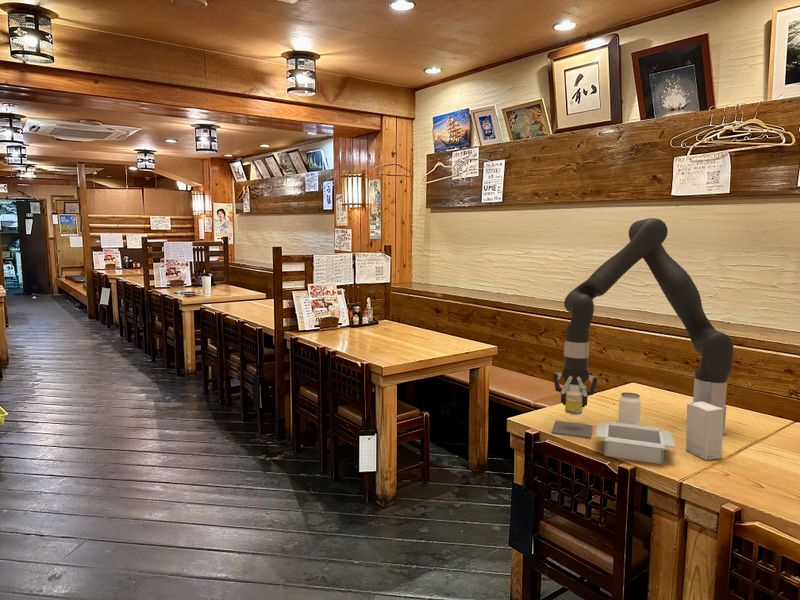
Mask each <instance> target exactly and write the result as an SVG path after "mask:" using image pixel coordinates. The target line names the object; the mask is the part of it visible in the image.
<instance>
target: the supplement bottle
mask: <svg viewBox="0 0 800 600" xmlns="http://www.w3.org/2000/svg"><path fill="white" fill-rule="evenodd" d="M582 404H583V392H582V390H581V388H580V385H573V384H569V386H568V388H567V390H566V400H565V405H564V406H565V407H564V411H565V413H566V414H567V415H569V416H580V415H582V414H583V409H584V407H582Z"/></svg>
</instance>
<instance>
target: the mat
mask: <svg viewBox="0 0 800 600" xmlns="http://www.w3.org/2000/svg"><path fill="white" fill-rule="evenodd" d="M593 427H594V425H593V424H587V423H580V422H572V421H565V420H555V421H554V424H553V426H552V429H551V433H550V434H552V435H560V436H567V437H575V438H582V439H587V440H588V439H589V440H591V439H592V433H593Z"/></svg>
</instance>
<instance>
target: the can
mask: <svg viewBox="0 0 800 600" xmlns="http://www.w3.org/2000/svg"><path fill="white" fill-rule="evenodd" d="M640 396H641V395H640V394H638V393H635V392H622V393H621V394H620V397H619V402H618V403H619V404H618V416H617V417H618V418H617V419H618V420H617V422H618V423H626V424H634V425H641V423H640V422H641V421H640V420H641V407H642V406H641V405H642V400H641V397H640Z"/></svg>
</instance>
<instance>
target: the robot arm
mask: <svg viewBox="0 0 800 600" xmlns="http://www.w3.org/2000/svg"><path fill="white" fill-rule="evenodd" d="M667 237H668V227H667V224H666V223H665V222H664V221H663V220H662V219H659V218H655V217H653V218H652V217H651V218H649V217H648V218H645V219H641V220H636V221H635V222H633V223H632V224H631V225H630V227H629V229H628V239H629V242H628V243H627V244H626V245H625V246H624V247H623V248H621V250H620V251H618V252H617V253H616V254H615V255H613V256H611V257H610V258H608V259H607V260H606V261H605V262H603V263H602V264H601V265H600V266H599V267H598V268H596V270H594V272H593V273H592V274H591V275H590V276H589V277H588V278H587V279H586V280H585V281H583V282H582V283H580V284H579V285H577V286H576V287H575V288H573V290H571V291H570V292H569V293H568V294H567V295H566V297H565V299H564V302H563V305H564V308H565V310H566V311H567V312H568V313H570V314H571V320H570V322H568V323H567V325H566V327H565V343H564V348H563V349H564V350H563V370H561V372H557V371H555V372H554V373H553V375H552V377H553V383H554V388H555V391H556V392H558V393H560V403H561V404H562V406H565V400H566V390H568V389H569V388H568V386H569V384H573V385H580V388H581V389H580V390H581V391H582V392H583V404H582V407H583V408H585V407H587V406H588V398H589V396H593V395H594V393H595V390H596V385H597V383H598V382H597V381H598V376H597V375H594V376H593V375H591V374H589V356H590V353H589V352H590V345H589V341H590V340H589V337H590V336H589V335H590V327H591V324H592V320H593V316H594V312H595V304H594V299H595V298H598V297H601V296H604V295H605V294H607V292H608V291H610V289H611V288H612V287H613V286H614V285H615V284H617V282H618V281H619V280H620V279H621V278H622V277H623V276H624V275H625V274H626V273H627V272H628V271H629V270H630V269H631V268H632V267H633V266H635V265H636V263H638V262H639V261H641V260H642V259H643V261H644V262H645V264H646V265H647V267H648V269H649V270H650V272H651V274H652V276H653V277H654V278H655V280H656V282H657V284H658V285H659V287H660V289H661V291H662V293H663V294H664V296H665V298H666V299H667V301H668V303H669V304H670V306H671V307H672V309H673V310H674V312H675V314H676V315H677V316H678V318H679V320H680V321H681V322H682V323H683V326H684V327H685V330H686V332H687V334H688V336H689V339H690V341H691V343H692V345H693V348H694V349H695V351H696V352H697V353H698V354H699V355H700V356H701V361H700V366H699V367H698V368H696V369H695V372H694V381H693V382H694V383H693V397H692V403H694V402H705V403H708V404H711V405H714V406H717V407H720V408H723V436H724V435H725V430H726V418H727V405H726V401H727V400H726V399H727V387H728V379H729V378H728V377H729V376H730V374H731V370H732V366H733V365H732V364H733V358H734V342H733V339H732V338H731V337H730V336H729V335H728V334H726V333H724V332H721V331H719V330H717V329H716V328H715V327H714V326H713V324H712V323H711V322H710V320H709V319H708V317H707V316H706V313H705V312H704V308H703V303H702V299H701V294H700V292H699V290H698V287H697V286H696V284H695V282H694V281H693V279H692V278H691V275H690V274H689V273H688V272H687V271H686V269H684V267H682V266H681V265H680V263H678V262H677V261H676V260H675V259H673V258H672V257H671V256H670V255H669V254H668V252H667V251H666V249H665V247H664V246H663V243H664V242H665V240H666V239H667ZM561 377H562V378H563V380H564V384H563V387H561V385H560V380H561ZM587 380H589V381H590V383H591V385H590V389H587V386H586V384H585V383H586V382H587Z"/></svg>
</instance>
